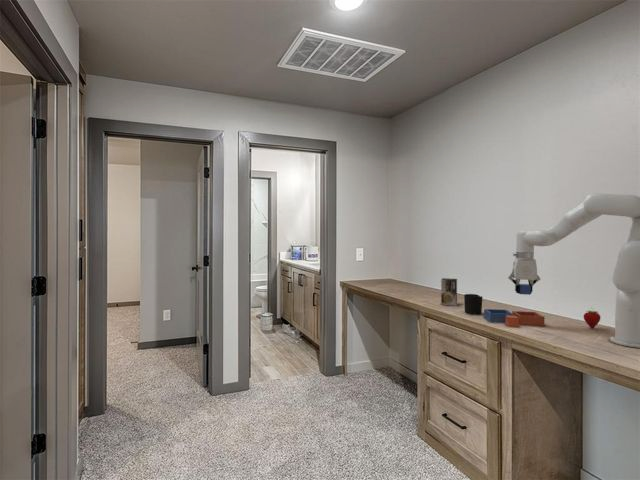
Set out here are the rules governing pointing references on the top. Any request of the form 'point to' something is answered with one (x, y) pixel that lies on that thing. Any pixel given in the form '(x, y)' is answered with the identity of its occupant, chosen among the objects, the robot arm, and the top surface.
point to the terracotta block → (511, 321)
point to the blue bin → (496, 315)
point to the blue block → (525, 289)
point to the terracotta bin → (529, 318)
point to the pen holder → (473, 304)
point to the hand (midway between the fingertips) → (523, 292)
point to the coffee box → (449, 291)
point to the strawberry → (592, 318)
